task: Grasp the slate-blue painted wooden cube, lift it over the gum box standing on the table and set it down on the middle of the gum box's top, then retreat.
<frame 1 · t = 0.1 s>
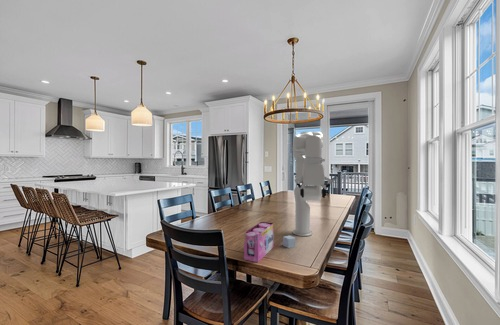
hand: (312, 197, 114), 31 cm above the table, tool pointing down, fingers open, 9 cm apart
slate cube: (289, 246, 136), on the table
gum box: (259, 253, 126), on the table
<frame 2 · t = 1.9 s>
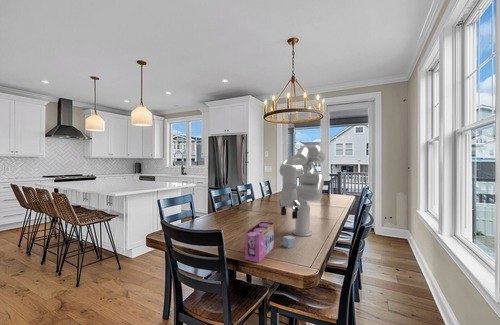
hand: (289, 216, 135), 17 cm above the table, tool pointing down, fingers open, 9 cm apart
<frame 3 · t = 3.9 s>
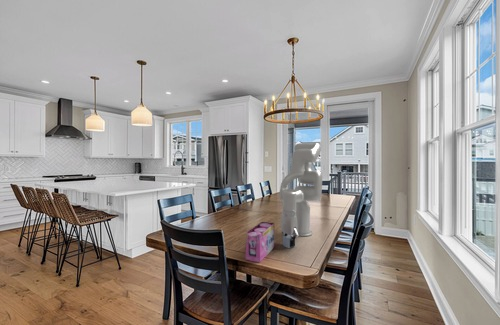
hand: (289, 244, 136), 1 cm above the table, tool pointing down, fingers closed on slate cube, 5 cm apart
slate cube: (289, 245, 136), on the table, touching gripper
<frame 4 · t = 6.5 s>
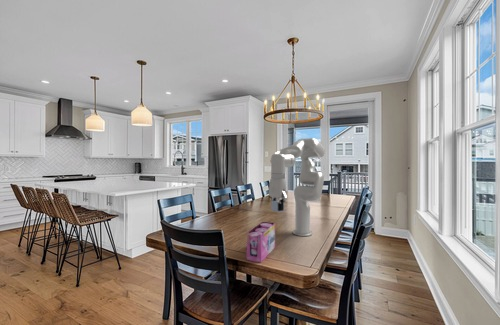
hand: (277, 209, 131), 22 cm above the table, tool pointing down, fingers closed on slate cube, 4 cm apart
slate cube: (277, 210, 131), point 21 cm above the table, touching gripper
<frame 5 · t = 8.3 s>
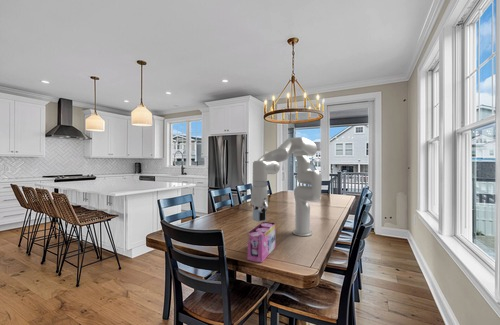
hand: (259, 218, 125), 18 cm above the table, tool pointing down, fingers closed on slate cube, 4 cm apart
slate cube: (259, 219, 125), point 17 cm above the table, touching gripper
when the fingers open (14 cm above the table, at t = 9.4 s): slate cube stays where it is, resting on gum box.
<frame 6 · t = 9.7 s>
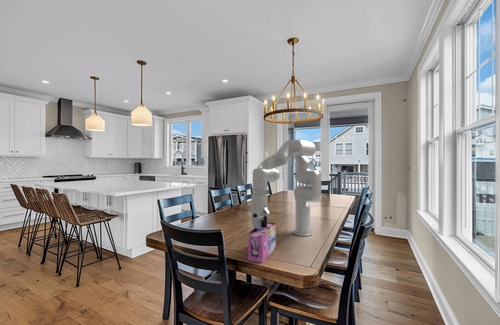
hand: (259, 225, 126), 14 cm above the table, tool pointing down, fingers open, 7 cm apart
slate cube: (259, 227, 126), point 13 cm above the table, touching gum box
gum box: (262, 253, 125), on the table, touching slate cube
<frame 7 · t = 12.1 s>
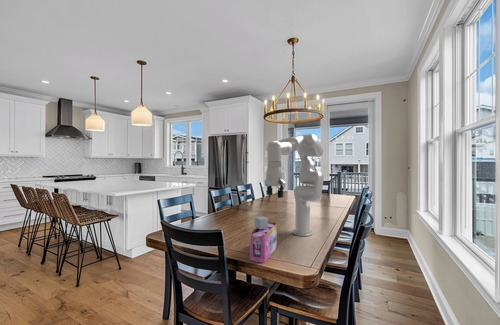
hand: (274, 196, 130), 29 cm above the table, tool pointing down, fingers open, 9 cm apart
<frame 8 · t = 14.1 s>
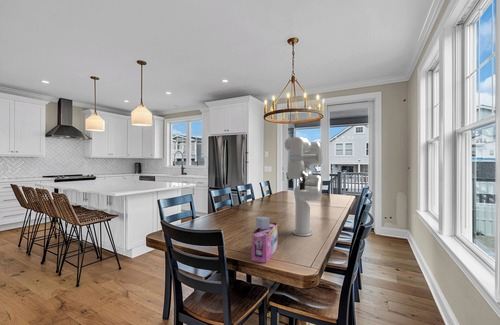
hand: (296, 188, 137), 32 cm above the table, tool pointing down, fingers open, 9 cm apart
at the end: slate cube 1.4 cm from the gum box (horizontally); slate cube point 13.4 cm above the table; the gripper is holding nothing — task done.
